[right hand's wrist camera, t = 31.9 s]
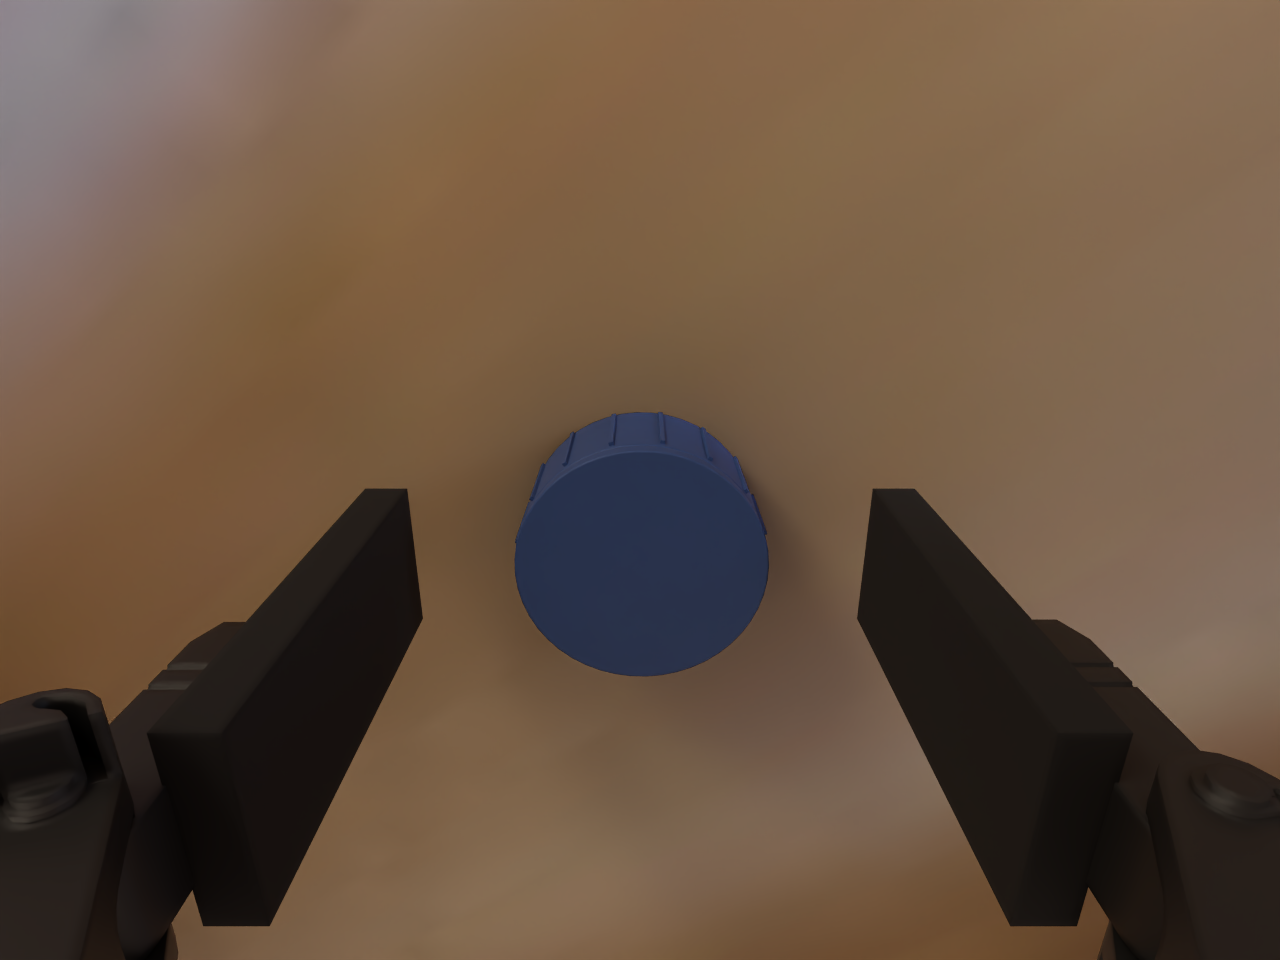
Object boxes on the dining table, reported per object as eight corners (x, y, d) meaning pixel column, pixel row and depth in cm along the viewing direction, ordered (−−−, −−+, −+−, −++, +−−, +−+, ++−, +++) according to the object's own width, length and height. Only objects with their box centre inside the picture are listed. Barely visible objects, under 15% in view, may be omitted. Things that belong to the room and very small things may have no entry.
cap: (702, 638, 17) (711, 706, 14) (503, 575, 16) (482, 635, 14) (788, 455, 15) (813, 501, 13) (571, 377, 15) (559, 411, 12)
